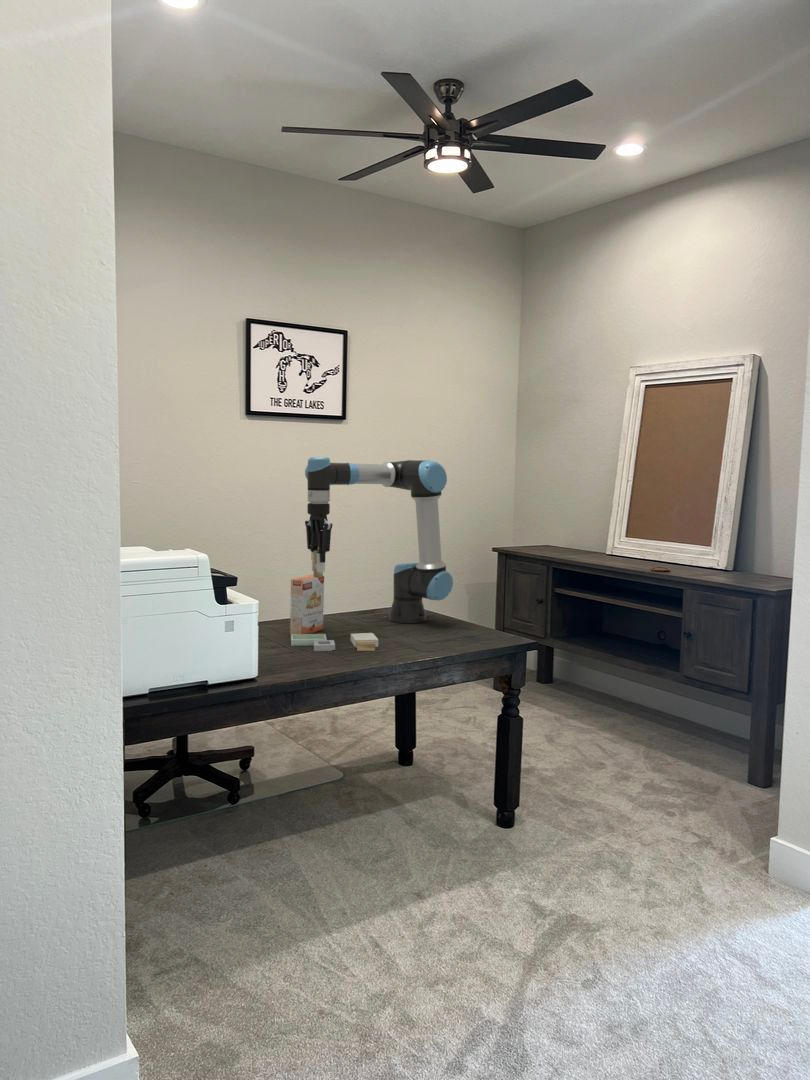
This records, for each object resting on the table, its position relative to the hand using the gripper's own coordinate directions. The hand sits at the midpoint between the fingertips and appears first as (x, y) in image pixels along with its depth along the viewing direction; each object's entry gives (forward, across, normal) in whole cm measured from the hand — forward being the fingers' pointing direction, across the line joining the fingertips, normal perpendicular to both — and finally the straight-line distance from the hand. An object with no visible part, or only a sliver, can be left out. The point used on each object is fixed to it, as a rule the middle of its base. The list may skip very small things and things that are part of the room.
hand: (318, 571), depth 268 cm
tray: (+26, -6, 0) cm, 27 cm away
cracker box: (+27, -19, +8) cm, 34 cm away
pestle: (+2, 0, 0) cm, 2 cm away
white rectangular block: (+27, +7, +15) cm, 31 cm away
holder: (+26, +4, 0) cm, 27 cm away
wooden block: (+26, +14, +10) cm, 31 cm away
